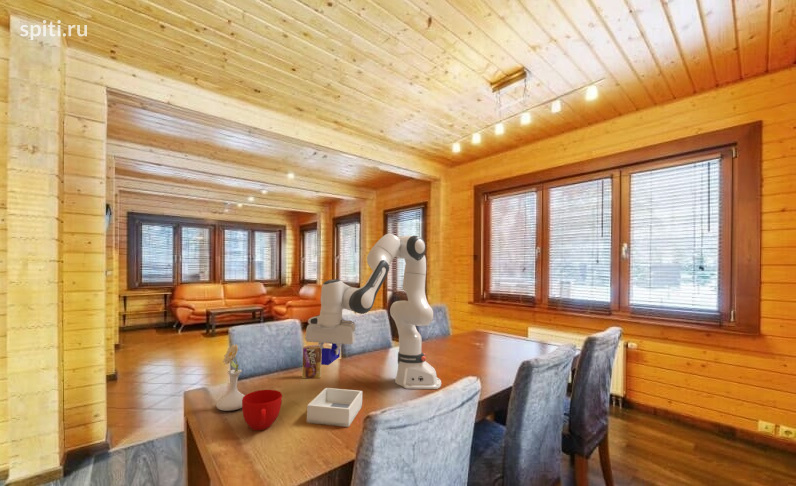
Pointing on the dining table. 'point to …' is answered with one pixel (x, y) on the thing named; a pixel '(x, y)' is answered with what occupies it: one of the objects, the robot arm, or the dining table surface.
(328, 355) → the blue curved block
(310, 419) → the walled box
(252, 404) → the ceramic cup
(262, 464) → the dining table surface
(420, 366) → the robot arm
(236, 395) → the flower in vase
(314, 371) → the candy box
